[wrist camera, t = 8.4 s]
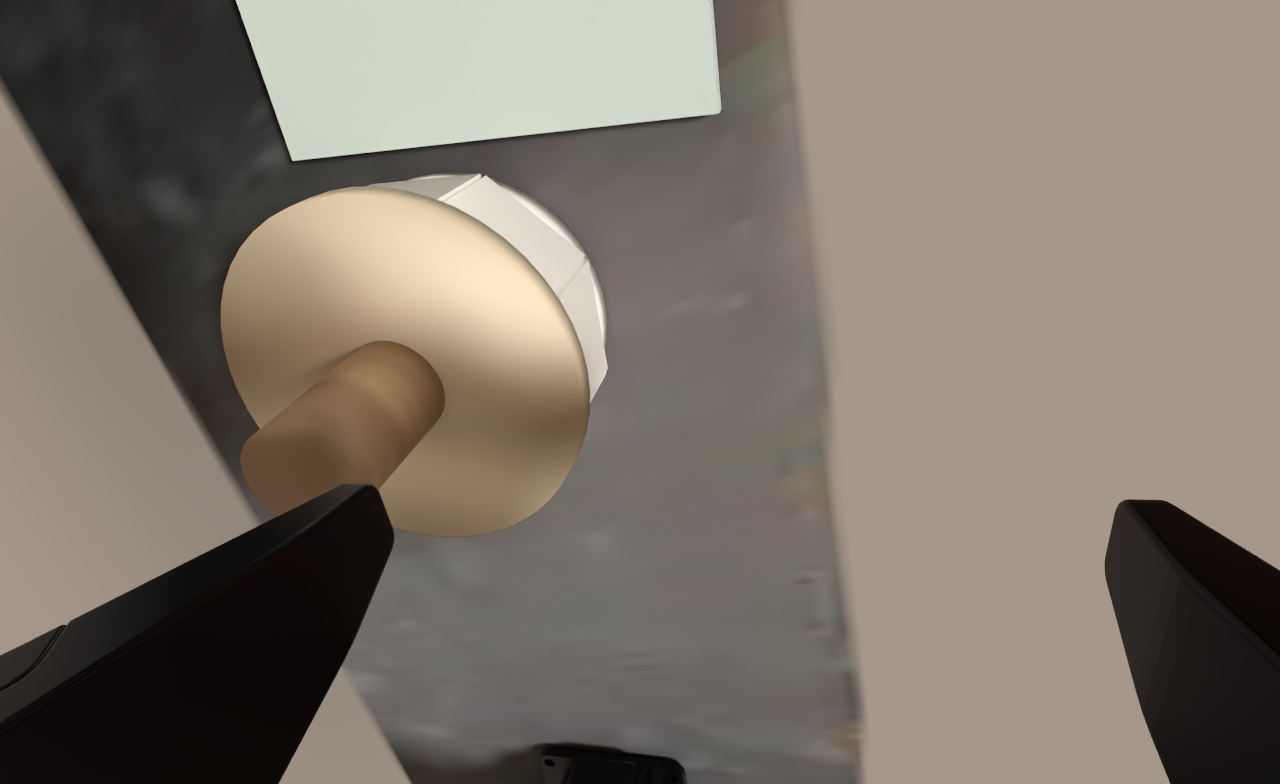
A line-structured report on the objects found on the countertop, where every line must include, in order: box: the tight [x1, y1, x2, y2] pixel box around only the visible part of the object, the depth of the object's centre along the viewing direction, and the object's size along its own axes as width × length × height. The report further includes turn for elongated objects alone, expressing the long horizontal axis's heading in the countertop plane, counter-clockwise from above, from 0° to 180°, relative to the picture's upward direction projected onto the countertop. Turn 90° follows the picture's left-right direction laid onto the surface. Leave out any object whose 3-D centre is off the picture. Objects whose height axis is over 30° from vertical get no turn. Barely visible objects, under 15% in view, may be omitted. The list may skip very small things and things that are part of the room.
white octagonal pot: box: [366, 172, 608, 403], centre depth 21 cm, size 8×8×4 cm
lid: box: [221, 186, 590, 537], centre depth 17 cm, size 10×10×5 cm
